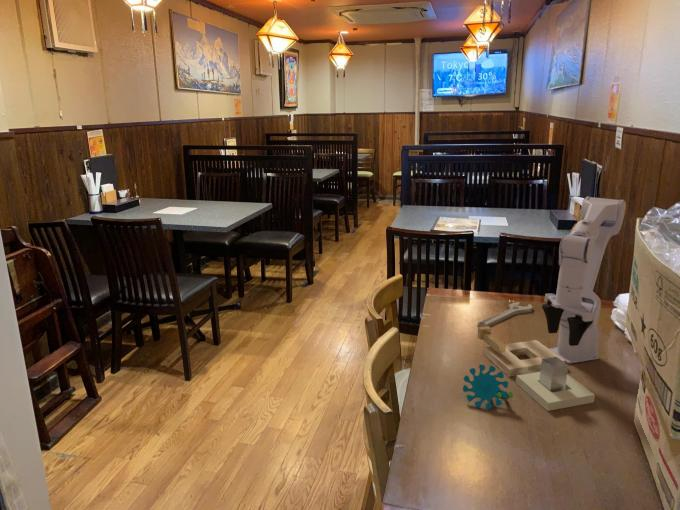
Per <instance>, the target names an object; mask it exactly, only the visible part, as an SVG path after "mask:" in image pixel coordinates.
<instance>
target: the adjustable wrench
mask: <svg viewBox="0 0 680 510" xmlns="http://www.w3.org/2000/svg"><path fill="white" fill-rule="evenodd" d="M507 308H508V309H506V310H504V311H501V312H499V313H497V314H495V315H492V316H490V317H488V318H486V319H485V318H484V319H482V320H481V321H478V322H477V328H478V327H484V326H489V327H491V326H492V324H493V325H494V324H497V323H499V322H502V321H503V320H505V319H508V318H510V317H512V316H514V315H517V314H526V313H527V314H528V313H531V312H532V311H533V305H532V304H530V303H528V305H527V306H522V305H521V301H516V302H513V303H508V306H507ZM490 325H491V326H490Z"/></svg>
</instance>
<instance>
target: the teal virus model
mask: <svg viewBox="0 0 680 510" xmlns="http://www.w3.org/2000/svg"><path fill="white" fill-rule="evenodd" d="M478 367H479V373H478V375H476V372H477V371H476V369H475V368H474V367H471V368H470V369H469V373H470V374H471V375H472V376H473V380H471V379H470V377H469V375H468V374H466V375H465V376H464V377H463V382H466V383H469V385H471V386H472V387H471V388H470V387H468V386H467V385H466V384H464V385H463V387H462V391H463V392H465V393H467V392H472V393H474V394H473V395H471V394H467V395H466V399H467V401H468V402H471V401H473V400H474V399H478V398H479V399H480V400H479V401H475V402H474V406H475V407H476V408H479V409H480V408H481V407H482V403H483V402H484V401H486V400H487V401H488V402H487V403H486V404H485V409H487V410H492V408H493V406H492V399H493V398H495V399H496V400H495V406H497V407H498V406H501V405H503V402H502V400H503V401H505V402H507V401H508V400H510V399H512V398H513V397H514V393H513V392H512V391H505V390H503V389H501V387H499V386H500V385H501V386H503V388H506V389H507V388H508V387H509V382H508V380H503V381H499V380H497V378H499V379H503V378H504V377H505V376H504V372H503V371H502V370H500V371H498V373H495V374H494V375H491V373H494V372H496V370H497V369H496V367H495V366H494V365H490V366H489V369H488V371H486V372H485V373H483V371H485V370H486V366H485V365H484V364H479V365H478Z"/></svg>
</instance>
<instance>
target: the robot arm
mask: <svg viewBox="0 0 680 510" xmlns="http://www.w3.org/2000/svg"><path fill="white" fill-rule="evenodd" d="M626 206H627V205H626V200H624V199H612V198H604V197H603V198H602V197H600V198H599V197H593V196H592V197H591V196H586V197H584V199H583V201H582V204H581V209H580V218H581V219H580V220H578V221H577V223H575V226H574V227H573V228H572V229H571V231H570V233H569V234H566V236H562V237H561V240H560V243H559V248H558V265H559V272H558V279H557V286H556V287H557V288H556V294H555V293H545V294H544V302H545V304H544V303H543V304H542V305H541V308H542V311H543V312H544V315H545V319H546V326H547V333H548V334H557V333H558V340H557V345H556V346H557V347H551V348H549V349H550V350H551V351H553V352H554V353H555V354H557V355H558V356H560V357H561V358H562V359H564V360H565V363H566V364H568V365H569V364H575V363H582V362H588V361H593V360H599V358H600V357H599V356H598V349H599V343H600V336H601V335H600V330H599V327H597V325H598V322H599V318H600V315H601V307H602V301H601V299H600V297H599V296H598V295H597V294H596V293H595V292H594V289H595V284H596V281H597V278H598V275H599V272H600V269H601V265H602V261H603V257H604V254H605V251H606V249H607V248H606V247H607V245H608V242H609V240H610V239H611V237H614V236H615V235H618V234H619V233H620V231H621V228H622V225H623V222H624V218H625V214H626V208H627V207H626Z"/></svg>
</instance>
